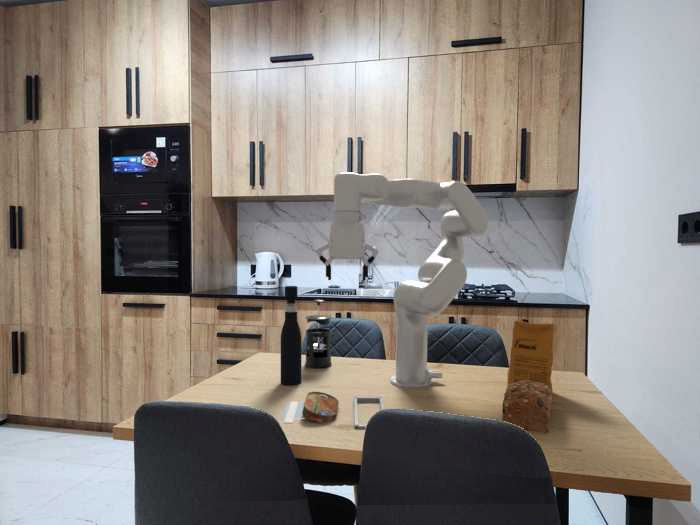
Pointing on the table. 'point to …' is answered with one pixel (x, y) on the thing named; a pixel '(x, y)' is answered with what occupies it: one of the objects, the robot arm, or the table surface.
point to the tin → (320, 407)
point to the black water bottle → (291, 342)
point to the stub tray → (365, 399)
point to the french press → (318, 357)
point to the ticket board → (293, 411)
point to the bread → (528, 405)
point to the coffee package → (531, 353)
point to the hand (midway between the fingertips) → (346, 279)
